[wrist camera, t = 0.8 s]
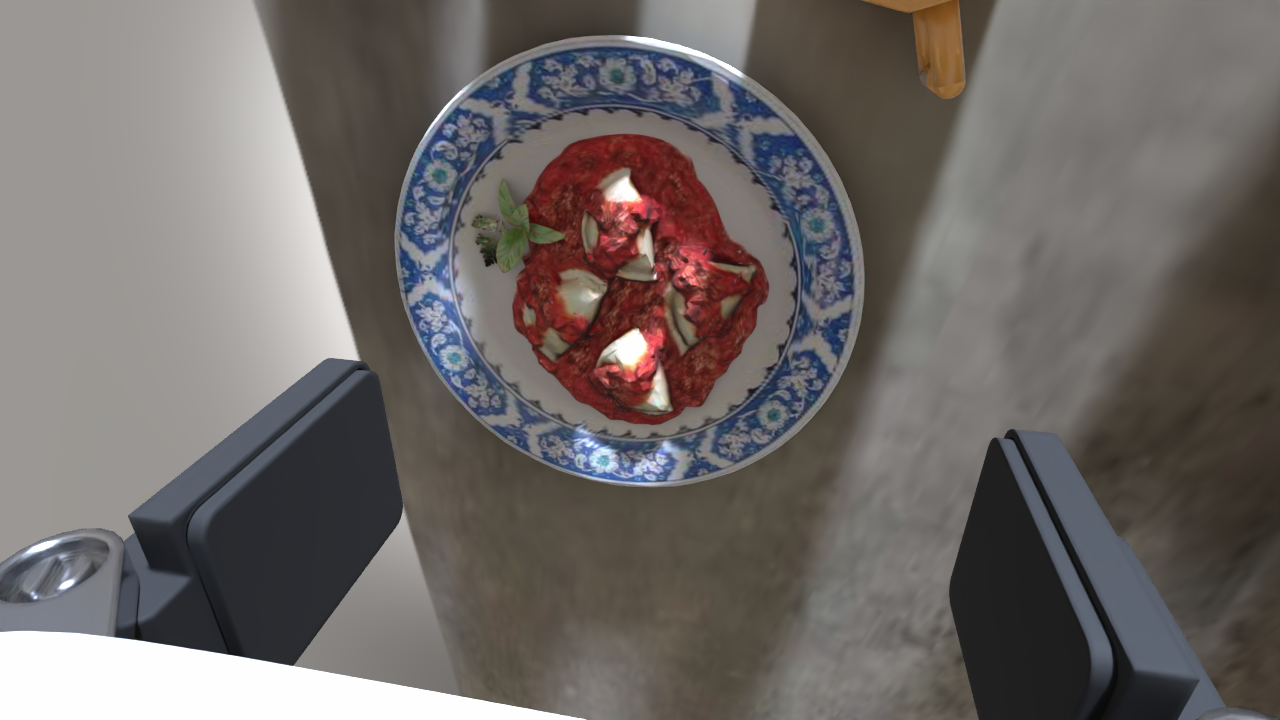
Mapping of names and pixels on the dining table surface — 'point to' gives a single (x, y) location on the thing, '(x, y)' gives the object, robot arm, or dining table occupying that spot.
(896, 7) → the mug
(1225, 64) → the dining table surface
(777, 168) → the ceramic plate
